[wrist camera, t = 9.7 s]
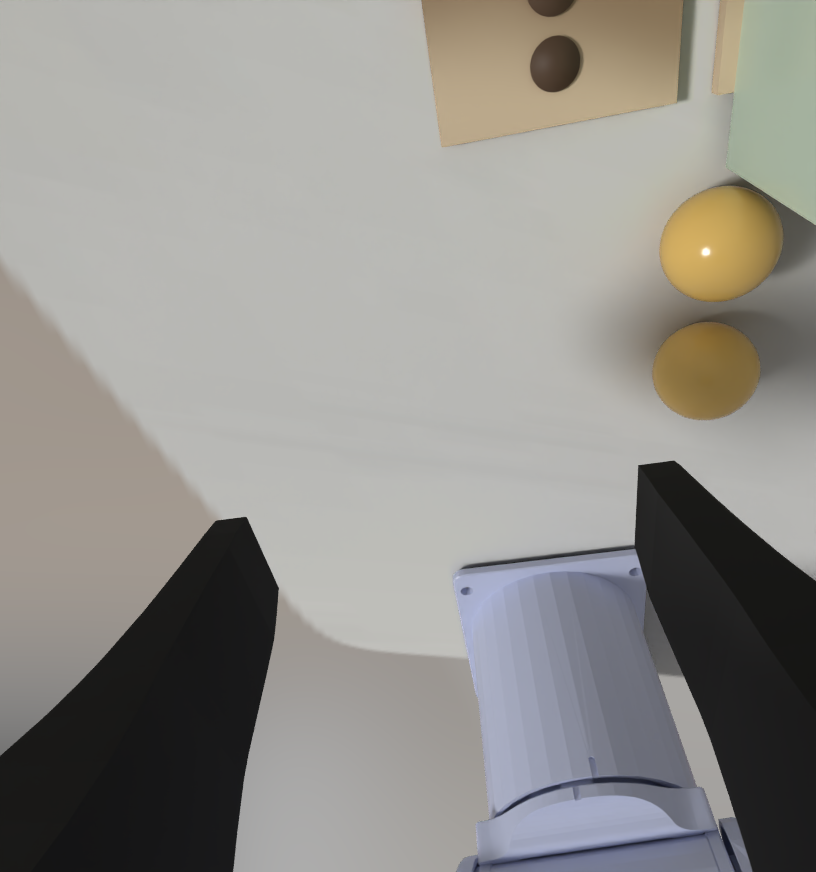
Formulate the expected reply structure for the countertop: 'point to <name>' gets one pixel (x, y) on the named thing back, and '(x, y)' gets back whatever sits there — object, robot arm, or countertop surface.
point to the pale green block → (777, 103)
